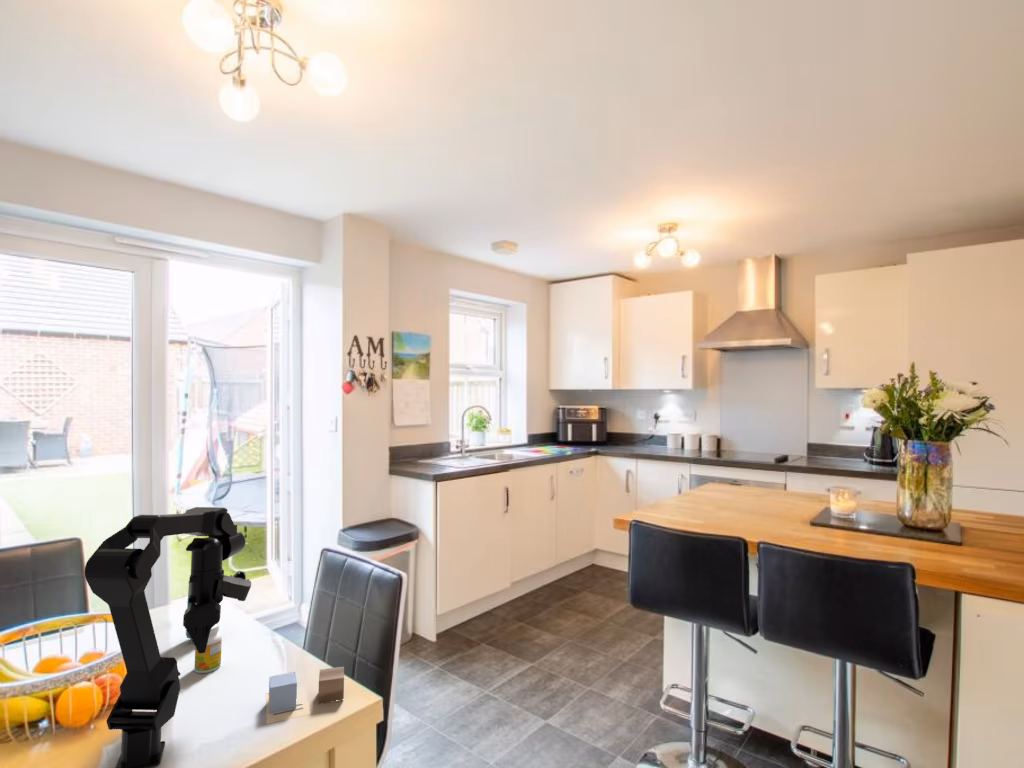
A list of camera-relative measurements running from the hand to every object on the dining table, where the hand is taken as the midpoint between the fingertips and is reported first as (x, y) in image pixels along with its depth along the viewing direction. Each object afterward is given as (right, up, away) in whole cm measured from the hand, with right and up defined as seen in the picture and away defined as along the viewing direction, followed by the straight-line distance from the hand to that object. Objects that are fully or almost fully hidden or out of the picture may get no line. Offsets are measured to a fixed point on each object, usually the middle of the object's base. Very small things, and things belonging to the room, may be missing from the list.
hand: (203, 643), depth 112 cm
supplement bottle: (-7, -13, +14) cm, 20 cm away
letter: (+18, -12, -1) cm, 22 cm away
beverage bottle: (-18, -13, +29) cm, 36 cm away
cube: (+17, -12, -1) cm, 21 cm away
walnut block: (+26, -13, +2) cm, 29 cm away
